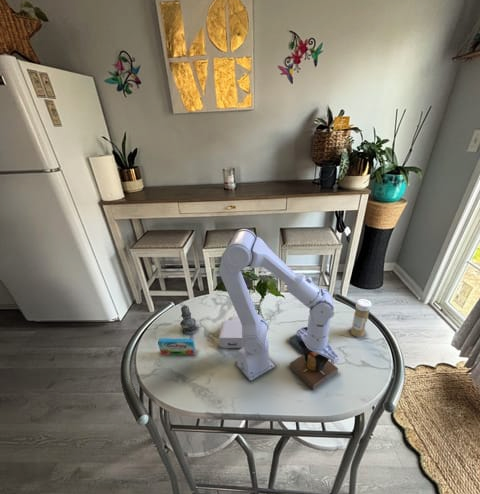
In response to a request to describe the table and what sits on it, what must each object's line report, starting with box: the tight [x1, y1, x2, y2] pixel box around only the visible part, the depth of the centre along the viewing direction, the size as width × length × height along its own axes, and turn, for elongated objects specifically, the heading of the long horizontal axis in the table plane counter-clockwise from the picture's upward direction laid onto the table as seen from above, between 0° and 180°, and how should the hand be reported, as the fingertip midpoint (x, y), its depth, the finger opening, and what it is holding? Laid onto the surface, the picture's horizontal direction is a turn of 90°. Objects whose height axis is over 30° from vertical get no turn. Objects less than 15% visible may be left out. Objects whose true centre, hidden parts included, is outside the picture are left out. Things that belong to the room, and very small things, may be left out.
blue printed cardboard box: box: [157, 337, 197, 356], centre depth 92 cm, size 12×2×6 cm, turn 85°
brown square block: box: [289, 354, 339, 391], centre depth 83 cm, size 10×10×3 cm
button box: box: [288, 326, 306, 355], centre depth 94 cm, size 10×8×4 cm
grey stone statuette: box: [179, 304, 198, 335], centre depth 101 cm, size 6×6×12 cm
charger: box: [218, 314, 244, 349], centre depth 99 cm, size 5×9×15 cm
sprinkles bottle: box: [350, 298, 372, 338], centre depth 93 cm, size 5×5×14 cm
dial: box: [307, 352, 318, 370], centre depth 82 cm, size 4×4×4 cm
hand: (314, 364), depth 83 cm, fingers closed on dial, 4 cm apart
